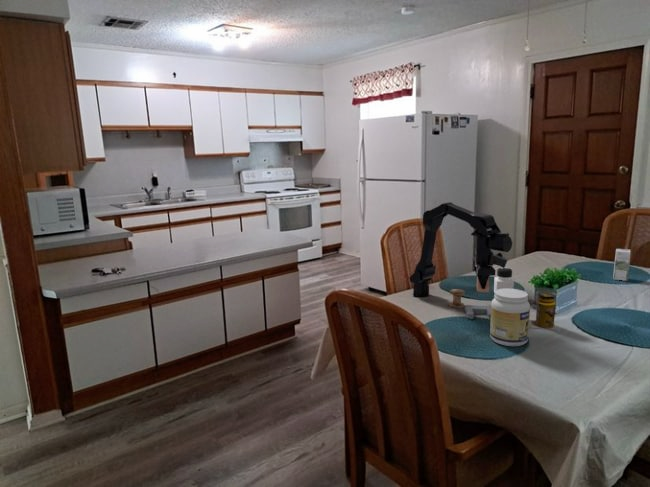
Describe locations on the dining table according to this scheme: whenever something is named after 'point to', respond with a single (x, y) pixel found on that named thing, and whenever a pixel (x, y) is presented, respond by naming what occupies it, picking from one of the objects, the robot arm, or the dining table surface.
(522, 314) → the supplement tub
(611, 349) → the dining table surface
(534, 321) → the condiment
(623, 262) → the syrup box
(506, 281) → the medicine bottle
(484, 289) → the copper brown block
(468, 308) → the notched board
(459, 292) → the door knob
